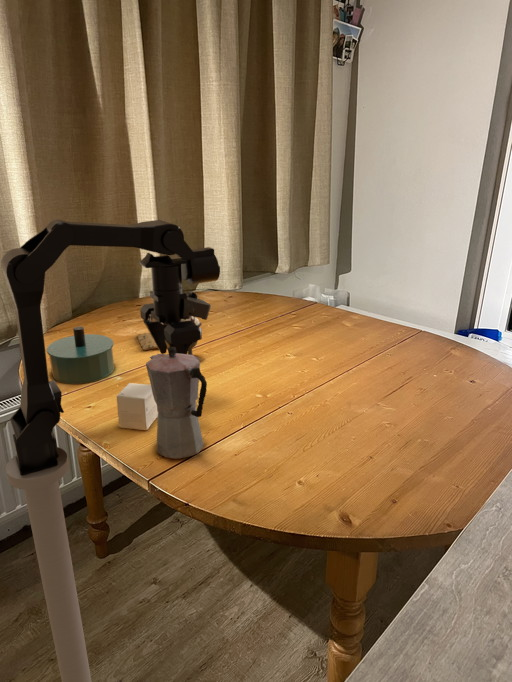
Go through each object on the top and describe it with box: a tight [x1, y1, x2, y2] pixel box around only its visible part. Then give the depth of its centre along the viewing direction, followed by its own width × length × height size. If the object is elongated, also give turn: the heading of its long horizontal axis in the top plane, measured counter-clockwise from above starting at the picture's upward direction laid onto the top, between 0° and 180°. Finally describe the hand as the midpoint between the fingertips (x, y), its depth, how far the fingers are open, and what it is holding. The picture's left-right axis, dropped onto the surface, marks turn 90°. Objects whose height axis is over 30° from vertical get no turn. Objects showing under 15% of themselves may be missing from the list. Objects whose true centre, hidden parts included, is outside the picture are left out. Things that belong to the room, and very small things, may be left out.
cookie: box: [136, 332, 158, 351], centre depth 145 cm, size 12×12×1 cm
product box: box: [116, 382, 158, 431], centre depth 101 cm, size 6×6×7 cm
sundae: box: [181, 315, 203, 362], centre depth 130 cm, size 7×7×15 cm
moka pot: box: [145, 347, 208, 460], centre depth 91 cm, size 10×15×20 cm, turn 51°
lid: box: [46, 326, 114, 360], centre depth 122 cm, size 16×16×6 cm
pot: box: [48, 347, 115, 385], centre depth 124 cm, size 15×15×6 cm
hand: (171, 360), depth 103 cm, fingers open, 9 cm apart
